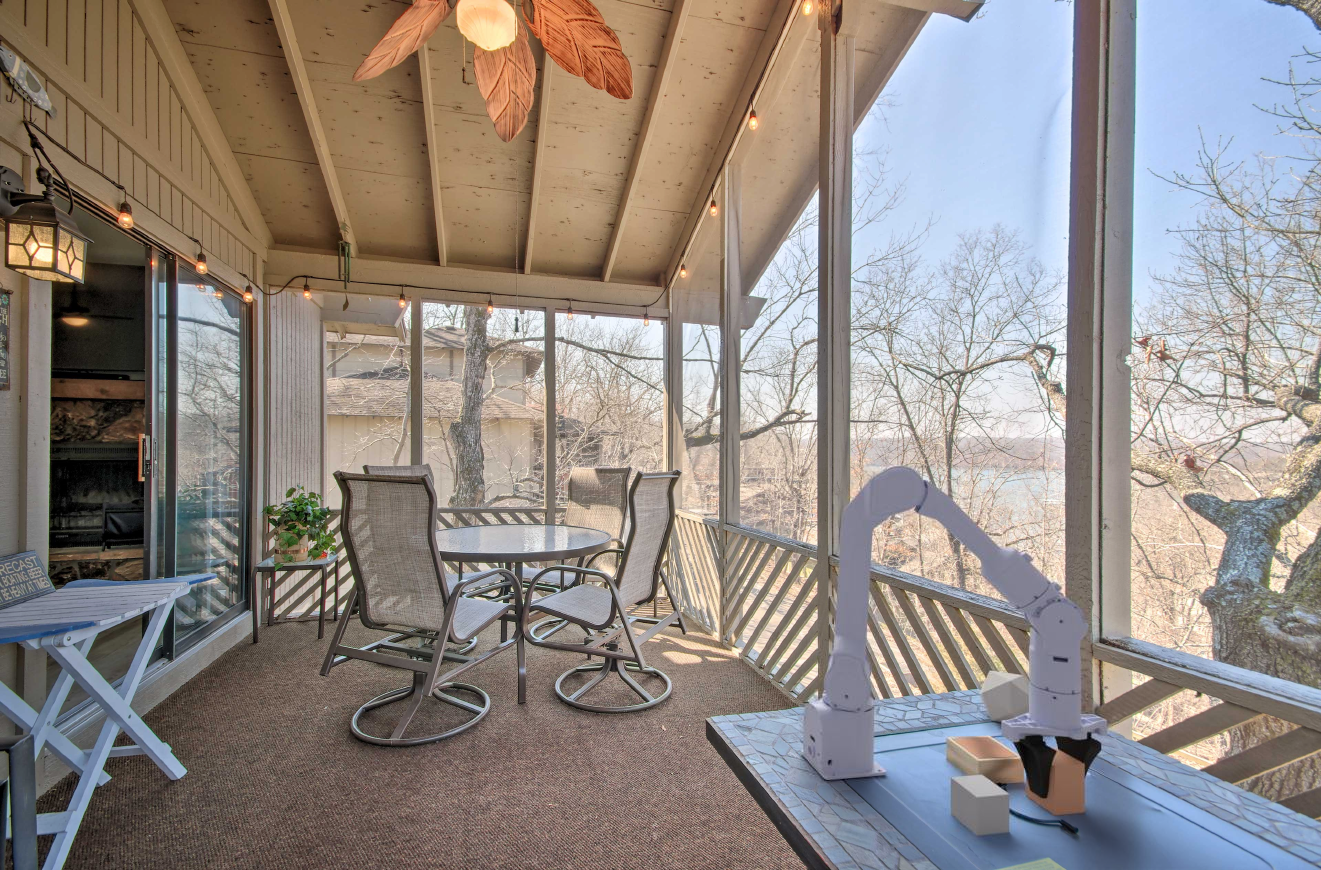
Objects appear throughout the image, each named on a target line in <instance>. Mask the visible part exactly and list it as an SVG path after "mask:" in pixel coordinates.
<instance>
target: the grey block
mask: <svg viewBox="0 0 1321 870" xmlns="http://www.w3.org/2000/svg"><path fill="white" fill-rule="evenodd" d="M1010 796H1011V795H1010V793H1008V792H1007V791H1006V790H1004V789H1003V788H1001V787H1000V786H998V784H994V783H993V782H992V781H990V780H989V779H987V778H986V777H985V776H983V775H972V776H966V775H963V776H951V777H950V813H951V814H950V815H951V816H953V817H954V816H955V817H956V818H955V817H954V818H955V819H956V820H957V819H958V820H957V821H959V823H961V824H962V825H963V826H964V825H965V828H967V829H968V830H969V831H971V833H972V834H974V835H975V836H977V837H978V836H986V835H995V834H1003V833H1010Z"/></svg>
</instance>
